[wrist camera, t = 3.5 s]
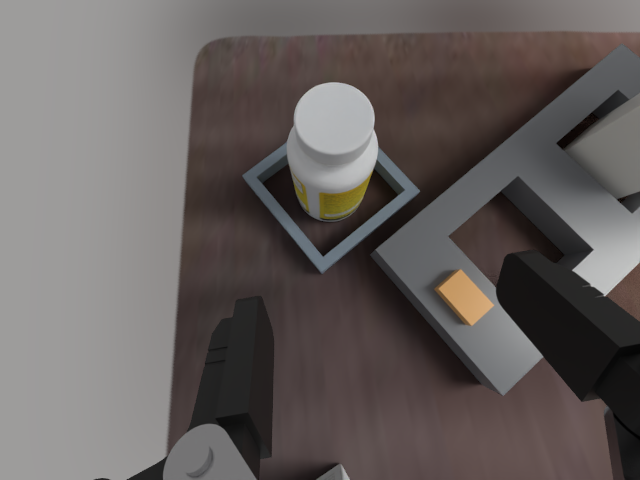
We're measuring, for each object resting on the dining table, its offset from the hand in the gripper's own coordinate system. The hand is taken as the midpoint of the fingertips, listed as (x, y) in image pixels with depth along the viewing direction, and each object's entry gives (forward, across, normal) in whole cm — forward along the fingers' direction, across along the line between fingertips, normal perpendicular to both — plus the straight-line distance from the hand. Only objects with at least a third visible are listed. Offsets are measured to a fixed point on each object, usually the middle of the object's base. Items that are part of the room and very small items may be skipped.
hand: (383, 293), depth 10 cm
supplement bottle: (+15, 0, +3) cm, 16 cm away
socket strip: (+12, -16, +6) cm, 21 cm away
